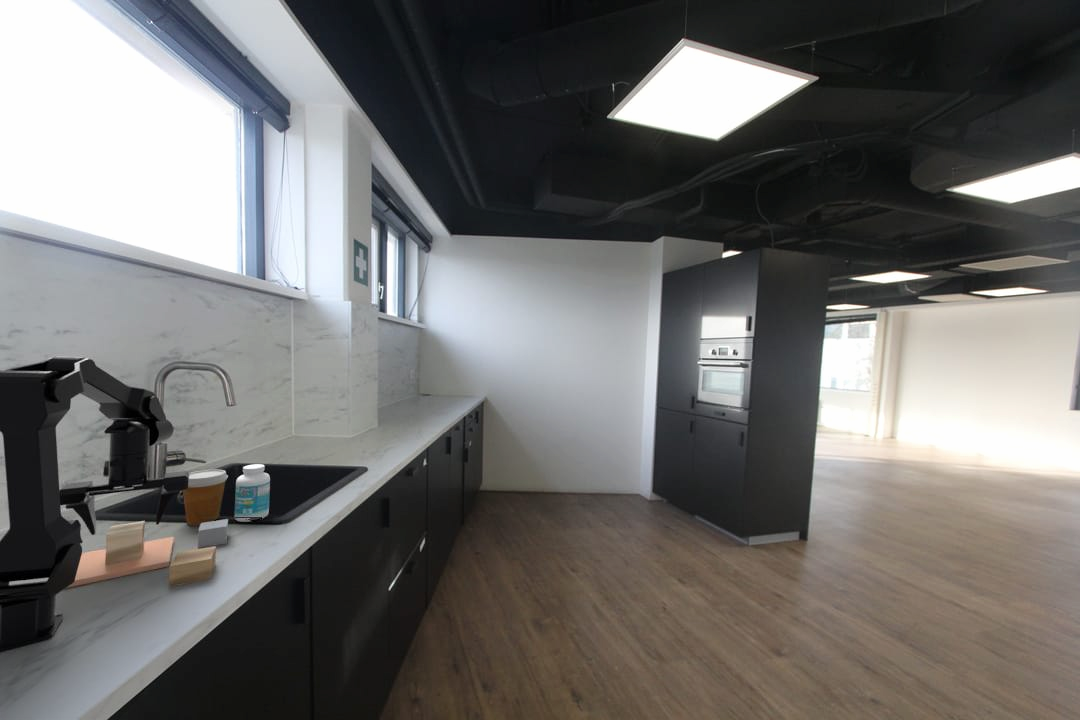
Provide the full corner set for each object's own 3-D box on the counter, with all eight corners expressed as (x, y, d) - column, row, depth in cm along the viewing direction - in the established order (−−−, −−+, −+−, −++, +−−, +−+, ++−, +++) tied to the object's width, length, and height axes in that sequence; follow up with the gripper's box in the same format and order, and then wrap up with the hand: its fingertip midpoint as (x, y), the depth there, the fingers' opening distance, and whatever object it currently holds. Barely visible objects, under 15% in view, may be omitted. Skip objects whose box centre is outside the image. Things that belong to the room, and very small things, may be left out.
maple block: (140, 558, 83) (141, 528, 83) (105, 565, 80) (106, 534, 80) (143, 549, 87) (145, 520, 87) (110, 555, 84) (111, 526, 84)
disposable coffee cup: (168, 529, 99) (170, 479, 99) (193, 514, 109) (195, 469, 109) (213, 527, 101) (215, 478, 101) (234, 513, 111) (235, 468, 111)
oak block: (210, 579, 78) (211, 558, 78) (168, 587, 75) (169, 565, 75) (215, 565, 83) (216, 546, 83) (176, 572, 80) (177, 552, 80)
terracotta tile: (168, 566, 82) (168, 561, 82) (63, 588, 74) (63, 582, 74) (173, 541, 93) (173, 536, 93) (82, 557, 84) (83, 552, 84)
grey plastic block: (226, 543, 93) (227, 526, 93) (197, 548, 90) (198, 530, 90) (227, 535, 97) (228, 518, 97) (200, 540, 94) (200, 523, 94)
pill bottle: (226, 520, 105) (228, 468, 105) (253, 511, 113) (255, 461, 113) (250, 524, 104) (252, 471, 104) (275, 514, 111) (277, 464, 111)
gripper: (191, 441, 96) (188, 508, 96) (71, 449, 84) (69, 526, 84) (189, 450, 87) (186, 523, 87) (55, 461, 75) (52, 546, 75)
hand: (126, 528), depth 84 cm, fingers open, 9 cm apart
